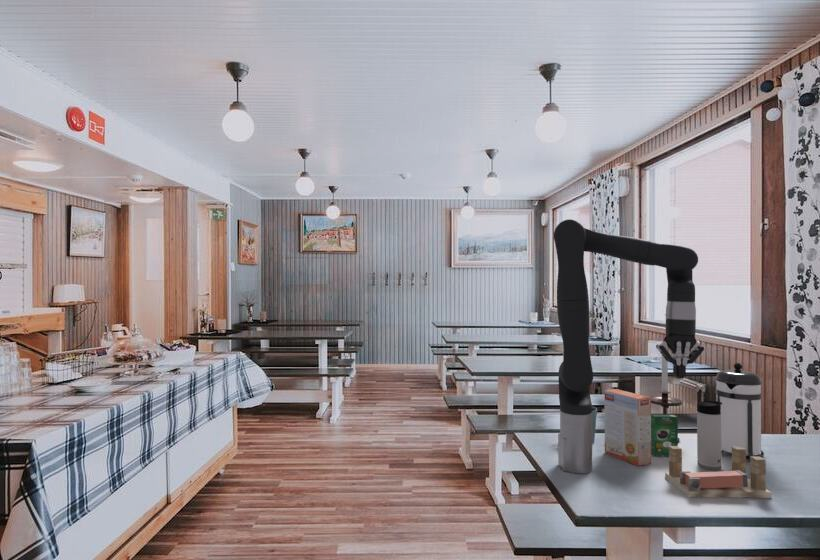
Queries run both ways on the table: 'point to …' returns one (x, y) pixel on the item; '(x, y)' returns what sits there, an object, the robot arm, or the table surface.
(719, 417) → the travel mug
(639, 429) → the cracker box
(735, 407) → the coffee press
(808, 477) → the table surface
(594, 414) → the drinking glass
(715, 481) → the folding leg
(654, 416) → the coffee box
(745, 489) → the stool seat
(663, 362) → the candlestick
